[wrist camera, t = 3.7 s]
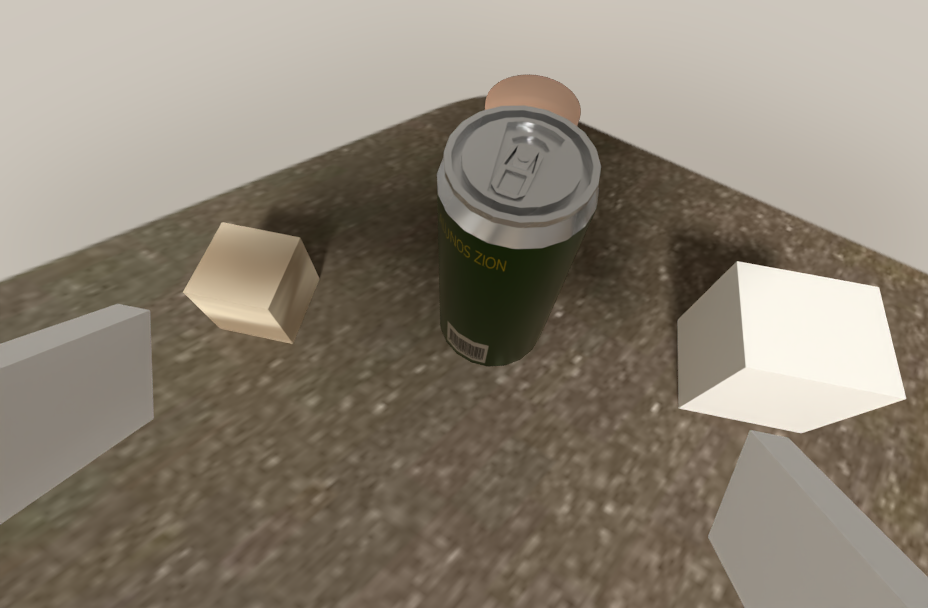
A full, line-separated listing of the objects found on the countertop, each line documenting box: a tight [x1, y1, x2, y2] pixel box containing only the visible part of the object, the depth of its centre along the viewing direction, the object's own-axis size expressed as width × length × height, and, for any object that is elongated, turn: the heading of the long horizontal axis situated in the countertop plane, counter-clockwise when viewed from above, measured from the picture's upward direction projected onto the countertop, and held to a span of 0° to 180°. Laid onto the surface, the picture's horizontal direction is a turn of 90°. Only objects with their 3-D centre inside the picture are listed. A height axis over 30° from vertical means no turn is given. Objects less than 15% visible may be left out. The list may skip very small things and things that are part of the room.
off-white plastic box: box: [677, 261, 906, 433], centre depth 22 cm, size 5×6×6 cm
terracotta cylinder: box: [485, 75, 581, 126], centre depth 27 cm, size 5×5×6 cm
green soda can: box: [437, 105, 601, 366], centre depth 20 cm, size 5×5×12 cm
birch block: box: [183, 222, 319, 344], centre depth 24 cm, size 4×4×4 cm
